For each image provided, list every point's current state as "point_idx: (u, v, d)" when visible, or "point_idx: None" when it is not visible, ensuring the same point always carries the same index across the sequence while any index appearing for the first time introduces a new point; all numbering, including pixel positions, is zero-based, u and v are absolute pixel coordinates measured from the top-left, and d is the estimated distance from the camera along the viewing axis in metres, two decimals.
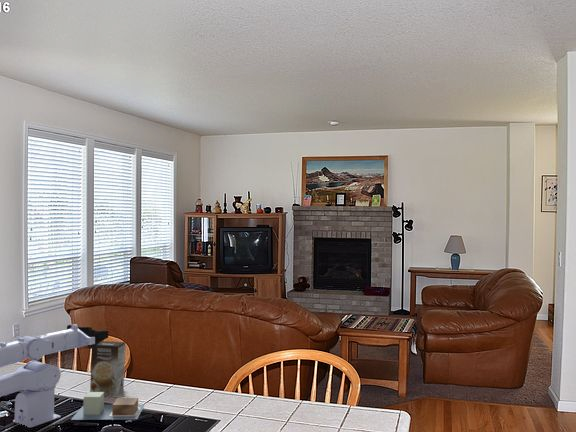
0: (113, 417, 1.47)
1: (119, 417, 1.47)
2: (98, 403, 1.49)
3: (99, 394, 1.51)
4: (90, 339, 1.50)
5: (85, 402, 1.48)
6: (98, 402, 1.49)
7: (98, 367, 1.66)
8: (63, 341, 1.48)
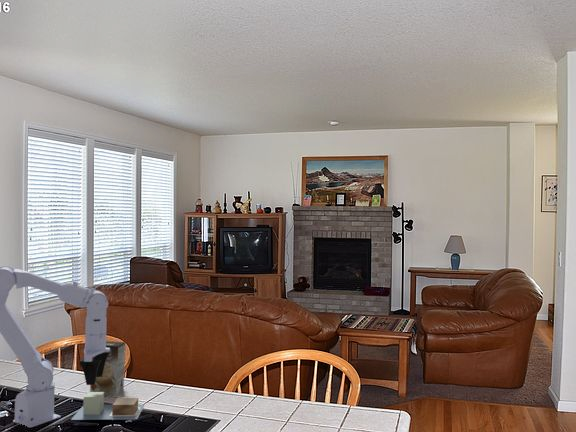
0: (113, 417, 1.47)
1: (119, 417, 1.47)
2: (98, 403, 1.49)
3: (99, 394, 1.51)
4: (90, 355, 1.44)
5: (85, 402, 1.48)
6: (98, 402, 1.49)
7: None
8: (98, 332, 1.49)
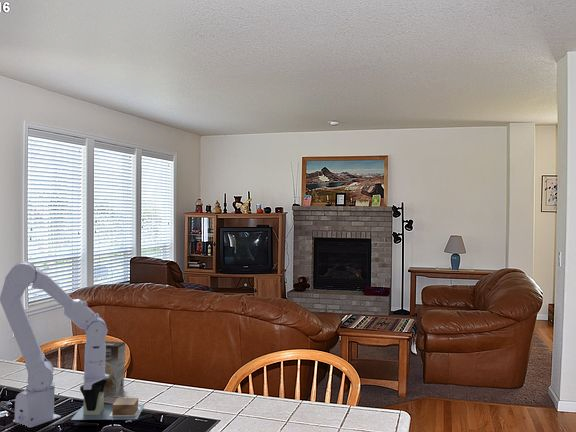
0: (113, 417, 1.47)
1: (119, 417, 1.47)
2: (98, 403, 1.49)
3: (99, 394, 1.51)
4: (89, 384, 1.44)
5: None
6: (98, 402, 1.49)
7: None
8: (97, 359, 1.49)
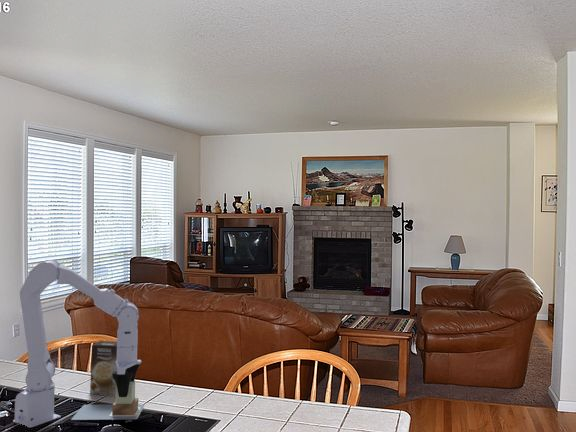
0: (113, 417, 1.47)
1: (119, 417, 1.47)
2: (130, 392, 1.49)
3: (131, 384, 1.52)
4: (123, 368, 1.44)
5: (117, 391, 1.49)
6: (130, 391, 1.49)
7: (98, 367, 1.66)
8: (128, 344, 1.49)
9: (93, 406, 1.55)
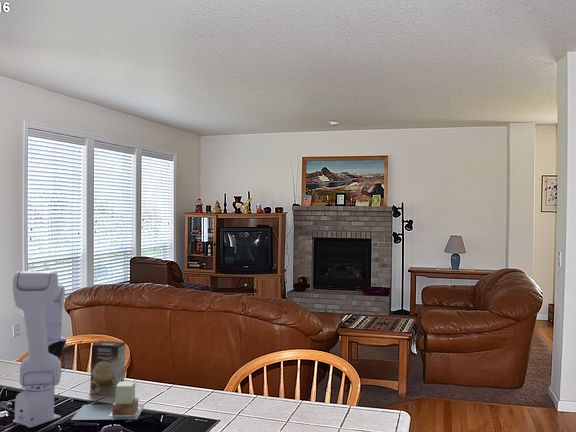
0: (113, 417, 1.47)
1: (119, 417, 1.47)
2: (130, 392, 1.49)
3: (131, 384, 1.52)
4: None
5: (117, 391, 1.49)
6: (130, 391, 1.49)
7: (98, 367, 1.66)
8: (61, 319, 1.60)
9: (93, 406, 1.55)
